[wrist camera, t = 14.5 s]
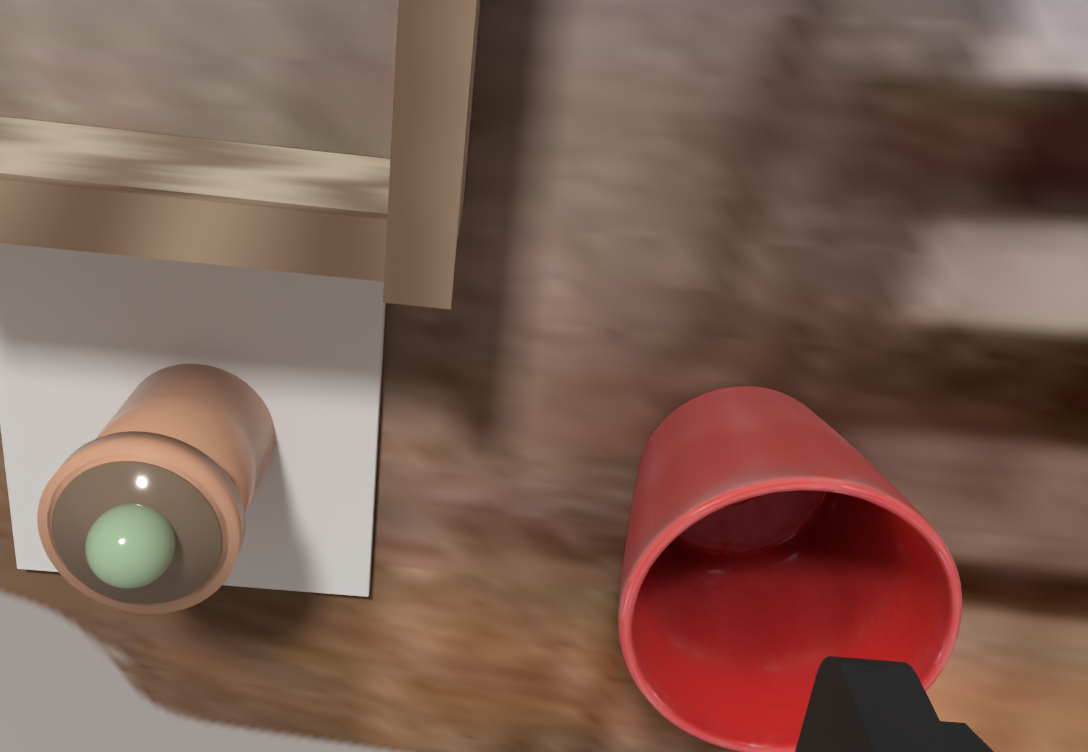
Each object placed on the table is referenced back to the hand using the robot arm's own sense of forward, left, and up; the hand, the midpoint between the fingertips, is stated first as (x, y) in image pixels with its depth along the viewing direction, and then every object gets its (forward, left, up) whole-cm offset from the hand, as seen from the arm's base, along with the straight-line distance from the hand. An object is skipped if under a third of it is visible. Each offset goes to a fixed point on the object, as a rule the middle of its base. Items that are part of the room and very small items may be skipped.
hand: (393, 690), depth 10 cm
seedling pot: (+10, +13, -27) cm, 31 cm away
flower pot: (-11, +13, -28) cm, 32 cm away
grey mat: (+10, +13, -28) cm, 32 cm away
